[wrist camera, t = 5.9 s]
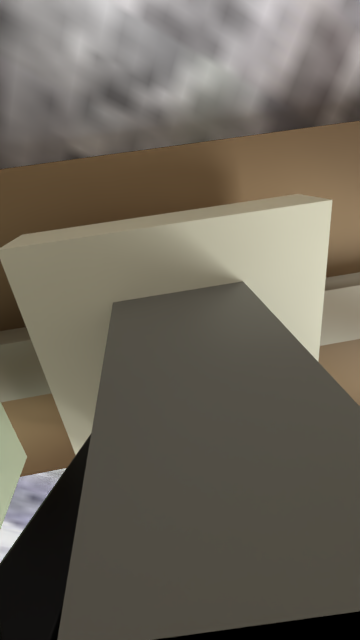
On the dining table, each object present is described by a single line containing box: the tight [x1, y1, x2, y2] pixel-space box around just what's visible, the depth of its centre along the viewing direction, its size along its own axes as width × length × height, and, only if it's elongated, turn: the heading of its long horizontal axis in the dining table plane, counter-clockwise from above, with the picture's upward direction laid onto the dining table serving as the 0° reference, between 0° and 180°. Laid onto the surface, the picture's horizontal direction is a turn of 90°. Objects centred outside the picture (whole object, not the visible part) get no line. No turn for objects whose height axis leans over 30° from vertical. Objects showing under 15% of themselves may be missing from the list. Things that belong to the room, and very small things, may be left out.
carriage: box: [0, 194, 360, 640], centre depth 7 cm, size 8×7×8 cm
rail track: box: [0, 121, 360, 477], centre depth 11 cm, size 11×26×2 cm, turn 96°
